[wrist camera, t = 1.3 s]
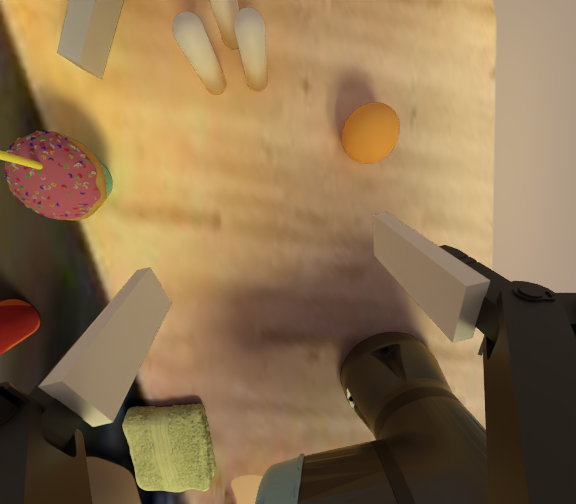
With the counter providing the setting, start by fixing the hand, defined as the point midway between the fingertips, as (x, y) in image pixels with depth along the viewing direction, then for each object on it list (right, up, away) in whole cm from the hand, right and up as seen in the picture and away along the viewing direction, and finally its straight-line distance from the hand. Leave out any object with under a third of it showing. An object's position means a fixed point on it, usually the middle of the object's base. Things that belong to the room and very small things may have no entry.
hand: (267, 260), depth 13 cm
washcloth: (-18, -32, +25) cm, 45 cm away
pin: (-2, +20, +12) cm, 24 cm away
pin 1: (-7, +20, +12) cm, 24 cm away
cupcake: (-22, +9, +14) cm, 28 cm away
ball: (+10, +14, +12) cm, 21 cm away
